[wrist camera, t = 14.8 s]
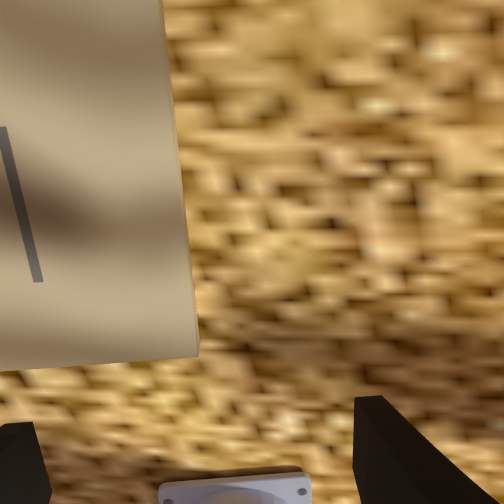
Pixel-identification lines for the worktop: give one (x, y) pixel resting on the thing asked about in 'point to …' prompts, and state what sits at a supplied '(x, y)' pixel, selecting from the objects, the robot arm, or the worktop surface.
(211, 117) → the worktop surface
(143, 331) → the board
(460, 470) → the robot arm
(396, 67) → the worktop surface
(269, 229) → the worktop surface
